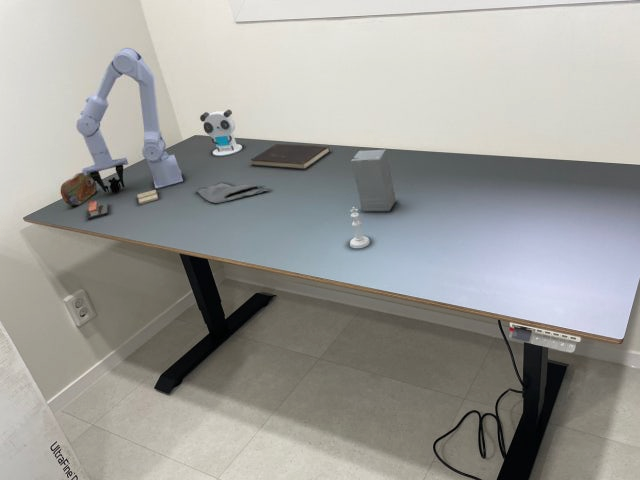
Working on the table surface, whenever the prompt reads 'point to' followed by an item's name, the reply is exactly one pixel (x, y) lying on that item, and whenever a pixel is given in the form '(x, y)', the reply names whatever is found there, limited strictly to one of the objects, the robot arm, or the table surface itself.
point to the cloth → (228, 192)
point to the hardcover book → (290, 156)
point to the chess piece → (358, 232)
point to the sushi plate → (97, 210)
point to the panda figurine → (221, 131)
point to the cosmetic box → (373, 180)
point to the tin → (78, 189)
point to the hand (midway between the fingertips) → (114, 188)
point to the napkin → (147, 196)
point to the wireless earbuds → (114, 185)
